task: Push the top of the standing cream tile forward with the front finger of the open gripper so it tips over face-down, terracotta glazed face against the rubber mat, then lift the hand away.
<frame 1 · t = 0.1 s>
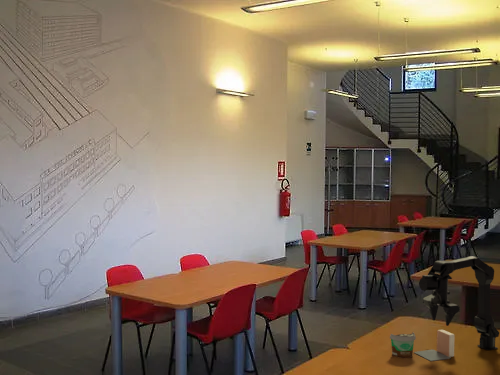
hand: (440, 322, 249), 15 cm above the table, tool pointing down, fingers open, 9 cm apart
glazed tile: (445, 353, 250), on the table
rubber mat: (431, 355, 248), on the table
food container: (404, 357, 246), on the table
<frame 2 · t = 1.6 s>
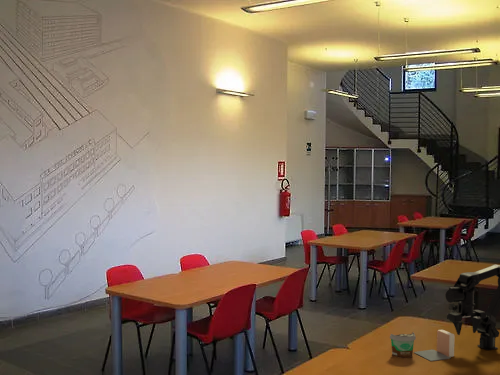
hand: (466, 333, 254), 8 cm above the table, tool pointing down, fingers open, 9 cm apart
nothing on the table moved.
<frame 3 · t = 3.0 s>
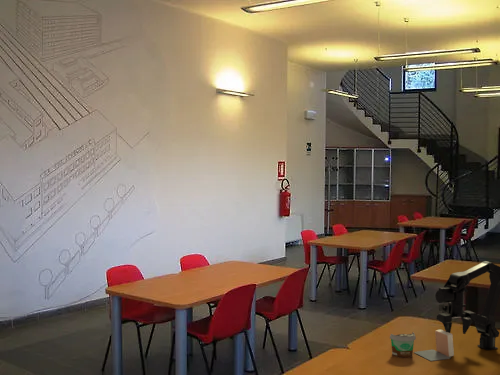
hand: (456, 334, 252), 8 cm above the table, tool pointing down, fingers open, 9 cm apart
glazed tile: (445, 353, 250), on the table, tilted 7°, touching gripper
everything else where it was.
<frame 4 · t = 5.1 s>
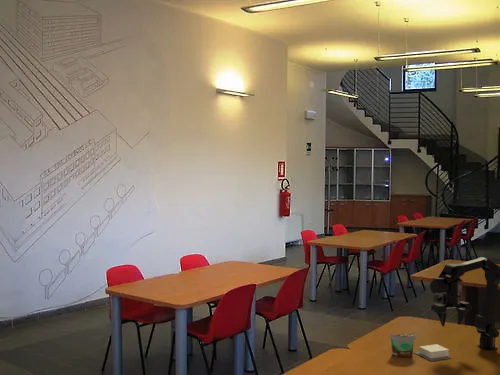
hand: (450, 325, 251), 13 cm above the table, tool pointing down, fingers open, 9 cm apart
glazed tile: (442, 350, 250), point 2 cm above the table, tilted 90°, touching rubber mat
everything else where it was.
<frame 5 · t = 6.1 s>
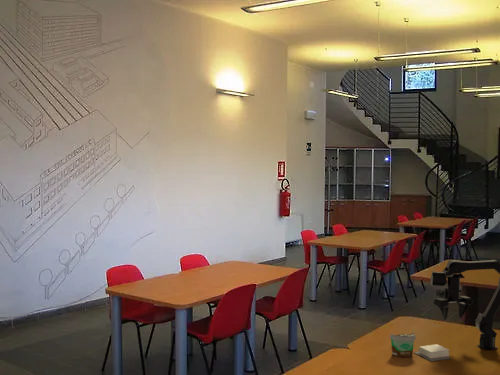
hand: (452, 318, 261), 13 cm above the table, tool pointing down, fingers open, 9 cm apart
nothing on the table moved.
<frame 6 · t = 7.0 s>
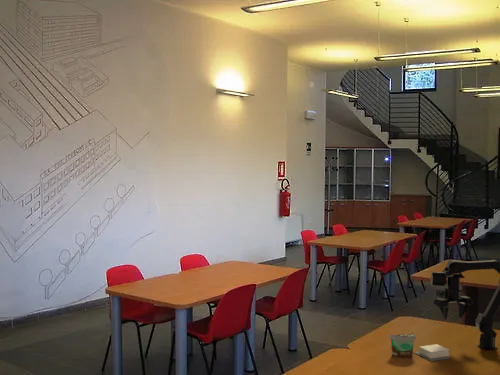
hand: (452, 318, 261), 13 cm above the table, tool pointing down, fingers open, 9 cm apart
nothing on the table moved.
at the end: glazed tile tilted 90°; glazed tile touching rubber mat; glazed tile inside the target area (2.8 cm from its centre), point 1.8 cm above the table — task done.
